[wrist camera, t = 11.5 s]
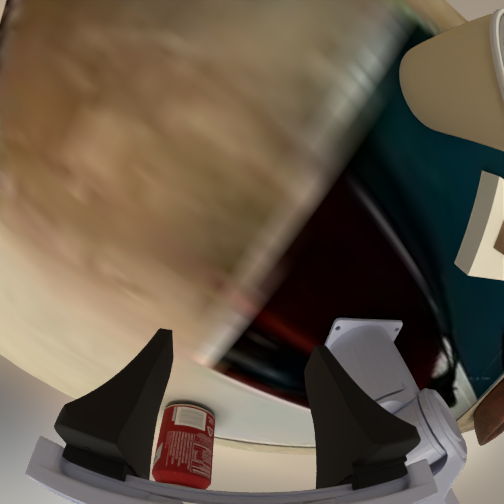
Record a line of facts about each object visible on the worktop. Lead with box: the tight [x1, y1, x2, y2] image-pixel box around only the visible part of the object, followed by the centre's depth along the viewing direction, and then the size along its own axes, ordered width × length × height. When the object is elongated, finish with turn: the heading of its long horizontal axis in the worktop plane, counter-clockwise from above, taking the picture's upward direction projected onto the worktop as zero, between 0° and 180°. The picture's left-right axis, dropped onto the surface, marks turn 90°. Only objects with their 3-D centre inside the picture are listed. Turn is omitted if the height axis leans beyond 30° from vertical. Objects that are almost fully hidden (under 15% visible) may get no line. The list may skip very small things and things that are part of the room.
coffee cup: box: [399, 8, 504, 151], centre depth 10 cm, size 9×9×12 cm
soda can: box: [152, 404, 215, 490], centre depth 25 cm, size 7×7×12 cm
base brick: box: [454, 171, 504, 280], centre depth 19 cm, size 10×10×3 cm
